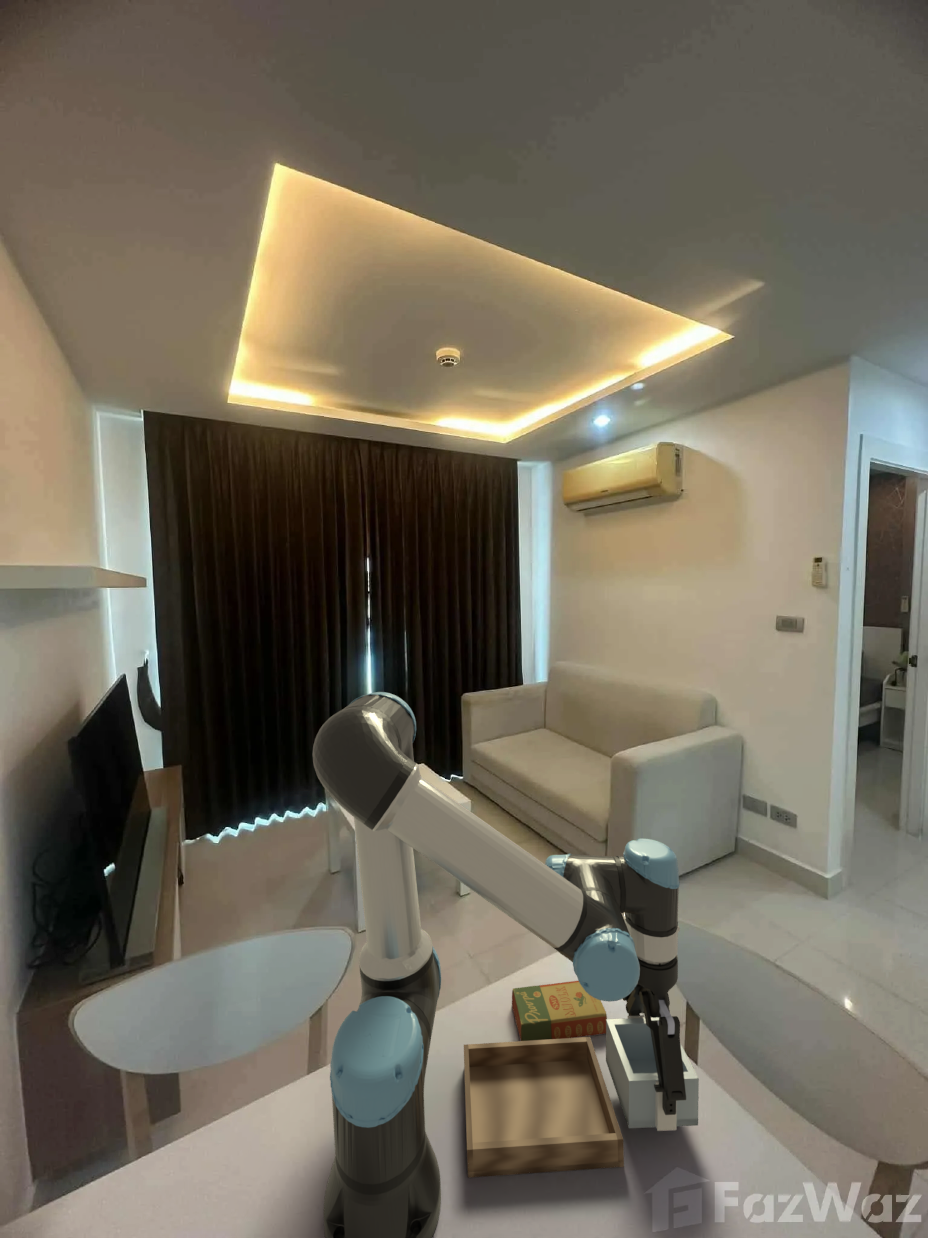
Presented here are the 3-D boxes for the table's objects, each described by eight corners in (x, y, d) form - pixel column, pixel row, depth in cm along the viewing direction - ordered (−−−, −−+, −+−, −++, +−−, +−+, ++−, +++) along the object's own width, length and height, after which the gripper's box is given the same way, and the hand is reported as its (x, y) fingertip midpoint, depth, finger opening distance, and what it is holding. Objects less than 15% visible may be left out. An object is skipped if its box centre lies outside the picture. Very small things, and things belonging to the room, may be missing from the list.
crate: (468, 1178, 66) (466, 1150, 66) (464, 1067, 82) (463, 1044, 81) (623, 1167, 67) (623, 1139, 66) (590, 1059, 82) (590, 1037, 82)
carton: (608, 1036, 87) (607, 1013, 87) (520, 1047, 85) (520, 1024, 85) (591, 998, 95) (591, 977, 95) (511, 1007, 94) (511, 986, 93)
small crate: (628, 1128, 68) (629, 1081, 68) (605, 1061, 78) (606, 1019, 78) (698, 1125, 69) (698, 1078, 68) (666, 1058, 79) (666, 1017, 78)
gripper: (716, 1011, 61) (714, 1177, 62) (644, 900, 84) (644, 1023, 85) (658, 1013, 61) (657, 1179, 62) (602, 901, 84) (602, 1025, 85)
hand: (650, 1089), depth 74 cm, fingers closed on small crate, 10 cm apart
